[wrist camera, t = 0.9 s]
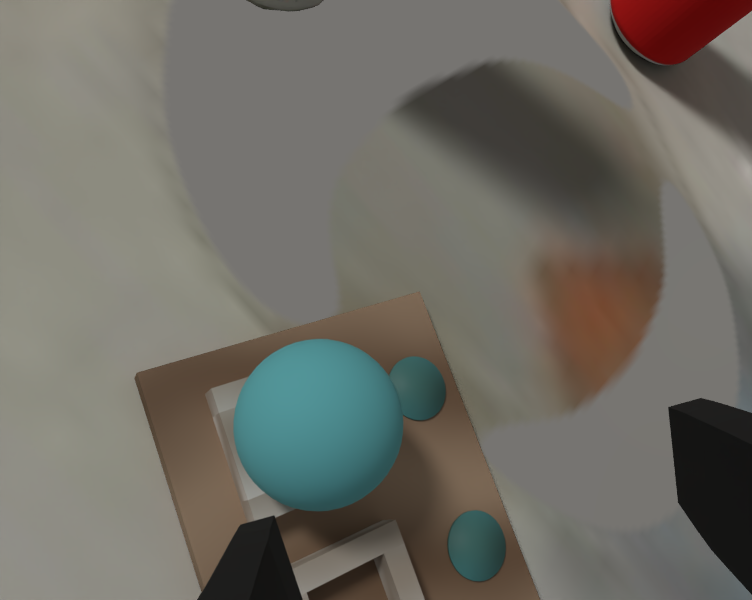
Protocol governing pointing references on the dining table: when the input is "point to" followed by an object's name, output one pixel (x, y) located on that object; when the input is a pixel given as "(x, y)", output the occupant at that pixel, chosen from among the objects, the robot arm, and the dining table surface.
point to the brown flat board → (374, 511)
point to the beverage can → (673, 25)
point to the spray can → (286, 4)
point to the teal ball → (318, 425)
